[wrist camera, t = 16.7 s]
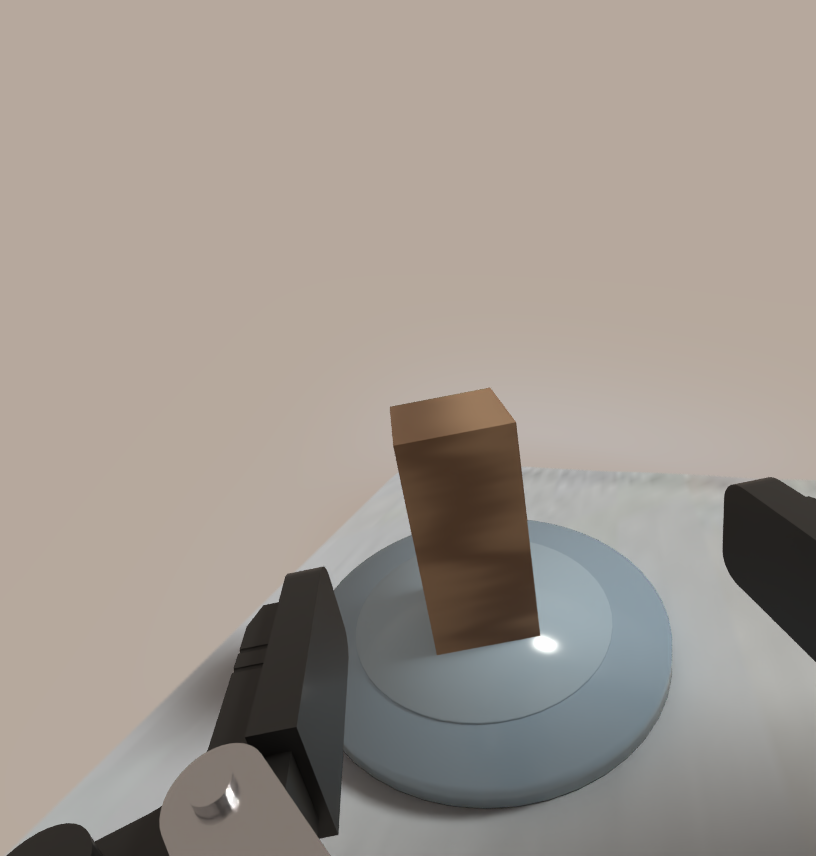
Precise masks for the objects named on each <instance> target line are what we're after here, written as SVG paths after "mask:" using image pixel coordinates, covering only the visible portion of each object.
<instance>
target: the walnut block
mask: <svg viewBox="0 0 816 856" xmlns="http://www.w3.org/2000/svg"><path fill="white" fill-rule="evenodd" d="M390 415H391V426H392V436H393V447H394V451H395V456H396V461H397V465H398V471H399V475H400V480H401V485H402V490H403V495H404V499H405V504H406V509H407V514H408V519H409V523H410V528H411V533H412V538H413V543H414V548H415V552H416V557H417V562H418V567H419V572H420V576H421V581H422V586H423V591H424V596H425V600H426V605H427V610H428V615H429V620H430V624H431V629H432V634H433V639H434V644H435V648H436V653H437V655H441V654H447V653H452V652H457V651H463V650H468V649H473V648H478V647H484V646H489V645H494V644H500V643H505V642H510V641H515V640H521V639H526V638H531V637H537V636H540V628H539V619H538V611H537V602H536V593H535V584H534V575H533V567H532V558H531V549H530V540H529V532H528V523H527V514H526V505H525V497H524V488H523V479H522V470H521V462H520V453H519V444H518V435H517V426H516V422H515V420H514V419H513V418H512V416H511V415H510V414H509V412H508V411H507V410H506V409H505V407H504V406H503V404H502V403H501V402H500V400H499V399H498V398H497V396H496V395H495V394H494V392H493V391H492V390H491V388H486V389H480V390H475V391H470V392H465V393H460V394H455V395H449V396H444V397H439V398H434V399H428V400H423V401H418V402H413V403H408V404H402V405H397V406H392V407H390Z"/></svg>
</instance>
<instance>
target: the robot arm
mask: <svg viewBox="0 0 816 856" xmlns="http://www.w3.org/2000/svg"><path fill="white" fill-rule="evenodd" d="M723 558H724V562H725V565H726V567H727V570H728V572H729V574H730V575H731V577H732V578H733V580H734V581H735V582H736V583H737V585H738V586H739V587H740V588H741V589H743V590H744V591H745V592H746V593H747V594H748V595H749V596H750V597H751V598H752V599H753V600H754V601H755V602H756V603H757V604H758V605H759V606H760V607H761V608H762V609H763V610H764V611H765V612H766V613H767V614H768V615H769V616H770V617H771V618H772V619H773V620H774V621H775V622H776V623H777V624H778V625H779V626H780V627H781V628H782V629H783V630H784V631H785V632H786V633H787V634H788V635H789V636H790V637H791V638H792V639H793V640H794V641H795V642H796V643H797V644H798V645H799V646H800V647H801V648H802V649H803V650H804V651H805V652H806V653H807V654H808V655H809V656H810V657H811V658H812V659H813V660H814V661H815V662H816V499H815V498H812V497H809V496H808V497H805V496H803V495H802V494H800V493H799V492H797V491H796V490H794V489H792V488H791V487H789V486H788V485H786V484H784V483H783V482H781V481H780V480H778V479H776V478H772V477H768V478H763V479H759V480H754V481H749V482H744V483H739V484H734V485H730V486H729V487H728V488H727V489H726V491H725V496H724V521H723ZM348 661H349V653H348V642H347V635H346V630H345V626H344V623H343V620H342V616H341V613H340V610H339V607H338V603H337V600H336V597H335V594H334V590H333V587H332V584H331V581H330V577H329V574H328V572H327V570H326V568H325V567H319V568H314V569H309V570H304V571H299V572H295V573H290V574H287V575H286V577H285V580H284V583H283V587H282V591H281V595H280V599H279V602H278V603H273V604H268V605H263V607H262V608H261V609H260V610H259V612H258V613H257V614H256V616H255V617H254V618H253V619H252V621H251V622H250V623H249V625H248V626H247V628H246V631H245V634H244V637H243V640H242V644H241V647H240V654H238V656H237V659H236V663H235V666H234V673H232V675H231V678H230V681H229V685H228V688H227V691H226V694H225V697H224V700H223V704H222V707H221V710H220V713H219V716H218V719H217V722H216V726H215V729H214V732H213V735H212V738H211V741H210V745H209V748H208V750H207V752H206V753H204V754H203V755H201V756H200V757H198V758H197V759H196V760H195V761H193V762H192V763H191V764H190V765H189V766H188V767H187V768H186V769H185V770H184V771H183V772H182V773H181V774H180V775H179V776H178V778H177V779H176V780H175V781H174V783H173V785H172V786H171V788H170V789H169V791H168V793H167V795H166V797H165V799H164V802H163V805H162V806H161V807H160V808H158V809H156V810H155V811H153V812H151V813H150V814H148V815H146V816H144V817H142V818H140V819H138V820H136V821H134V822H132V823H130V824H128V825H126V826H124V827H122V828H120V829H118V830H116V831H115V832H113V833H111V834H109V835H107V836H105V837H103V838H101V839H99V840H97V841H95V842H94V840H93V839H92V837H91V836H90V834H89V833H88V831H87V830H86V829H85V828H84V827H82V826H81V825H77V824H71V823H66V824H60V825H56V826H53V827H50V828H47V829H45V830H43V831H41V832H39V833H37V834H35V835H34V836H32V837H30V838H29V839H27V840H26V841H24V842H23V843H22V844H20V845H19V846H17V847H16V848H15V849H14V850H13V851H12V852H10V853H9V854H8V855H7V856H331V855H330V854H329V853H328V851H327V850H326V848H325V847H324V845H323V844H322V842H321V841H320V838H325V837H330V836H335V835H338V831H339V814H340V797H341V780H342V763H343V746H344V729H345V712H346V695H347V678H348Z"/></svg>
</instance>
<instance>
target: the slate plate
mask: <svg viewBox="0 0 816 856" xmlns="http://www.w3.org/2000/svg"><path fill="white" fill-rule="evenodd" d="M527 523H528V532H529V540H530V549H531V558H532V567H533V575H534V584H535V593H536V602H537V611H538V619H539V628H540V636H537V637H531V638H526V639H521V640H515V641H510V642H505V643H500V644H494V645H489V646H484V647H478V648H473V649H468V650H463V651H457V652H452V653H447V654H441V655H437V653H436V648H435V644H434V639H433V634H432V629H431V624H430V620H429V615H428V610H427V605H426V600H425V596H424V591H423V586H422V581H421V576H420V572H419V567H418V562H417V557H416V552H415V548H414V543H413V538H412V535H410V536H408V537H406V538H404V539H401V540H399V541H397V542H395V543H393V544H391V545H389V546H387V547H385V548H384V549H382V550H380V551H378V552H377V553H375V554H374V555H372V556H371V557H369V558H368V559H366V560H365V561H364V562H362V563H361V564H360V565H359V566H357V567H356V568H355V569H354V570H353V571H352V572H351V573H349V574H348V575H347V576H346V577H345V578H344V579H343V580H342V581H341V582H340V584H339V585H338V586H337V587H336V589H335V590H334V594H335V597H336V600H337V603H338V607H339V610H340V613H341V616H342V620H343V623H344V626H345V630H346V635H347V642H348V653H349V661H348V678H347V695H346V712H345V729H344V746H343V751H344V752H345V753H346V754H347V755H348V756H349V757H350V758H351V759H352V760H353V761H354V763H356V764H357V765H358V766H360V767H361V768H362V769H364V770H365V771H366V772H368V773H369V774H370V775H371V776H373V777H374V778H376V779H378V780H380V781H381V782H383V783H385V784H387V785H389V786H391V787H392V788H394V789H396V790H398V791H401V792H404V793H406V794H409V795H412V796H415V797H417V798H420V799H423V800H426V801H431V802H436V803H441V804H445V805H450V806H455V807H471V808H486V809H487V808H501V807H515V806H522V805H527V804H531V803H536V802H541V801H546V800H550V799H553V798H556V797H558V796H561V795H564V794H567V793H569V792H572V791H575V790H577V789H580V788H582V787H584V786H585V785H587V784H589V783H591V782H593V781H595V780H596V779H598V778H600V777H602V776H604V775H606V774H607V773H608V772H609V771H611V770H612V769H613V768H615V767H616V766H617V765H619V764H620V763H621V762H623V761H624V760H625V759H626V758H628V757H629V756H630V755H631V754H632V752H633V751H634V750H635V749H636V748H637V747H638V746H639V745H640V744H641V743H642V742H643V741H644V740H645V739H646V737H647V736H648V734H649V732H650V731H651V729H652V728H653V726H654V725H655V723H656V722H657V720H658V719H659V717H660V714H661V712H662V709H663V707H664V705H665V702H666V700H667V697H668V692H669V688H670V683H671V678H672V634H671V628H670V623H669V618H668V615H667V613H666V610H665V607H664V605H663V602H662V600H661V598H660V597H659V595H658V593H657V592H656V590H655V588H654V587H653V585H652V584H651V583H650V581H649V580H648V579H647V578H646V577H645V575H644V574H643V573H642V572H641V571H640V570H639V569H638V568H637V567H636V566H635V565H634V564H633V563H632V562H630V561H629V560H628V559H627V558H626V557H624V556H623V555H621V554H620V553H619V552H617V551H616V550H614V549H613V548H611V547H609V546H608V545H606V544H604V543H602V542H600V541H599V540H597V539H594V538H592V537H590V536H587V535H585V534H583V533H580V532H577V531H574V530H571V529H568V528H565V527H562V526H558V525H553V524H549V523H544V522H538V521H532V520H527Z"/></svg>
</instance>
